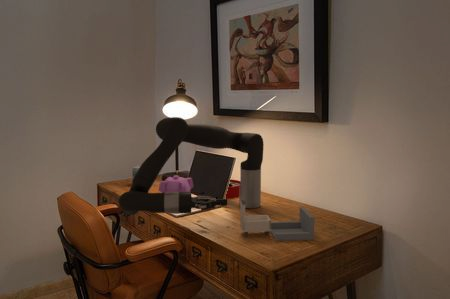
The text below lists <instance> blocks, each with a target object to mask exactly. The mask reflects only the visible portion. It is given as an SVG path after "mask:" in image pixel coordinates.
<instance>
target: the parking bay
mask: <svg viewBox="0 0 450 299" xmlns="http://www.w3.org/2000/svg"><path fill="white" fill-rule="evenodd" d="M269 233H270V234H271V235H272V237H273V239H274V241H275V242H281V241H283V242H284V241H306V240H307V241H309V240H310V241H313V240H314V239H315V217H314V216H313V214H312V213H310V212H309V210H307V208H306V207H304V206H299V220H294V221H293V220H292V221H291V220H290V221H286V220H285V221H271V231H269Z"/></svg>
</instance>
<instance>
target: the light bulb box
mask: <svg viewBox="0 0 450 299" xmlns="http://www.w3.org/2000/svg"><path fill="white" fill-rule="evenodd" d="M140 166H141V165H135V166H134V167H132V168H131V169H132V179H133V178H134V176H135V175H136V173H137V171H138V170H139V168H140ZM155 183H156V180H155V181H154V183H153V185H152V186H151V188H152V187H154V185H155Z"/></svg>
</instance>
